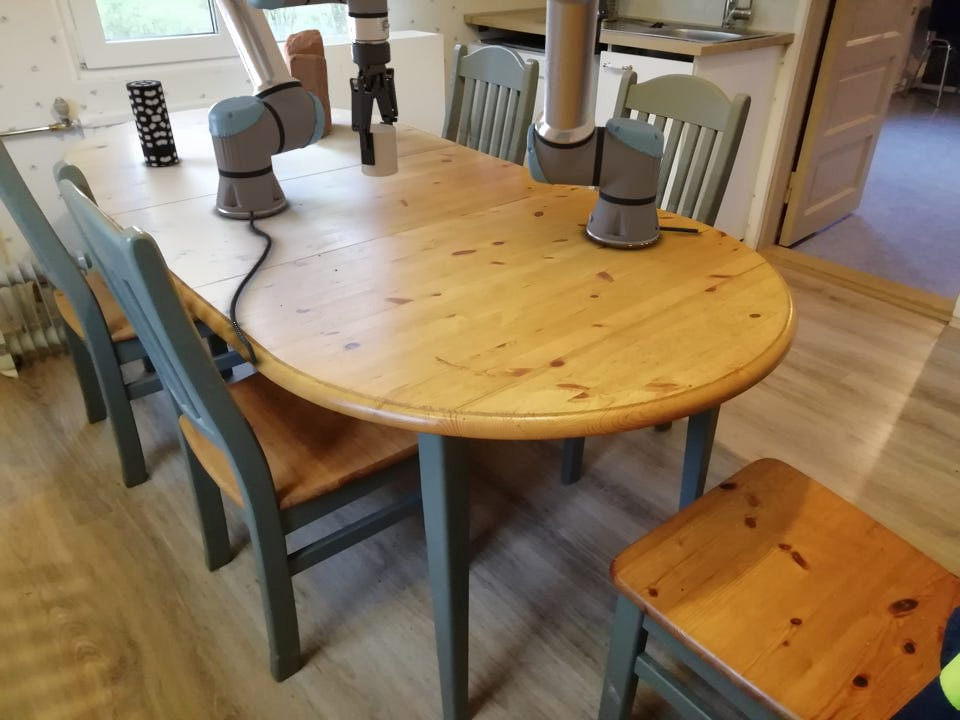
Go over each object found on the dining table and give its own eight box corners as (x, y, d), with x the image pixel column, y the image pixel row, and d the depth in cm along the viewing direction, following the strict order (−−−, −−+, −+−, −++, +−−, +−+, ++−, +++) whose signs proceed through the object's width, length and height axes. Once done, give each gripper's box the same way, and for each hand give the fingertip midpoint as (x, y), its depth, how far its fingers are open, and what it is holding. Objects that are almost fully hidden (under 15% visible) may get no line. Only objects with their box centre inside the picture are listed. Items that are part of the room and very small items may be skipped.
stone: (337, 137, 208) (326, 34, 194) (299, 140, 205) (285, 36, 191) (327, 123, 225) (317, 28, 211) (292, 125, 222) (279, 29, 208)
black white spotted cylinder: (184, 157, 190) (167, 80, 179) (169, 166, 183) (151, 87, 172) (155, 156, 190) (136, 79, 179) (139, 165, 183) (119, 86, 172)
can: (394, 177, 143) (391, 133, 138) (358, 176, 144) (354, 132, 139) (401, 166, 150) (398, 124, 145) (366, 165, 150) (362, 123, 145)
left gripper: (359, 49, 124) (369, 175, 136) (411, 35, 140) (416, 148, 152) (323, 47, 126) (336, 170, 138) (379, 33, 142) (386, 144, 154)
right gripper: (543, -62, 155) (537, 41, 166) (600, -58, 135) (590, 58, 147) (572, -62, 157) (565, 40, 169) (633, -58, 138) (620, 56, 149)
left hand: (378, 158), depth 145 cm, fingers closed on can, 8 cm apart
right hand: (576, 49), depth 158 cm, fingers open, 13 cm apart
